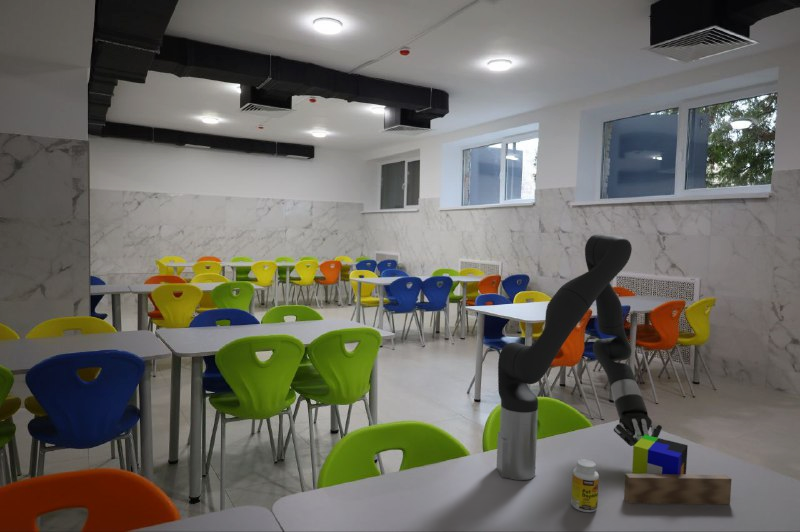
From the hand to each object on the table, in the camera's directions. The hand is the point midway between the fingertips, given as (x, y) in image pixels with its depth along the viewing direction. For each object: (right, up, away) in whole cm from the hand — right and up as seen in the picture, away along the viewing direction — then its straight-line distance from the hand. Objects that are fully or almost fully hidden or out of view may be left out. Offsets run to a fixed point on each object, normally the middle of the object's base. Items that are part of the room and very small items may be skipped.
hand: (648, 460), depth 135 cm
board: (0, -4, -13) cm, 14 cm away
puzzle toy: (0, -4, -5) cm, 7 cm away
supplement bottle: (-23, -4, -17) cm, 29 cm away
